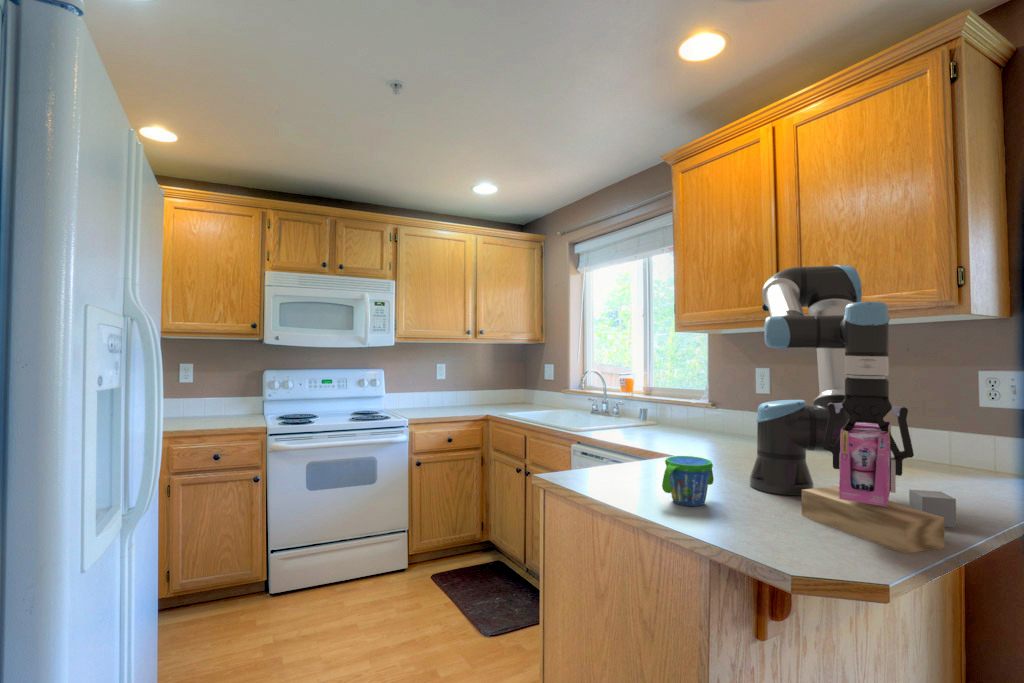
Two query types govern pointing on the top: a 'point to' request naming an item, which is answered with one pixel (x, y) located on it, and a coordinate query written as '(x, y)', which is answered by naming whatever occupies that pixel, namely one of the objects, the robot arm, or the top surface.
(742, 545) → the top surface
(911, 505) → the grey block
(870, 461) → the gum box
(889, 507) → the oak block
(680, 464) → the snack cup
